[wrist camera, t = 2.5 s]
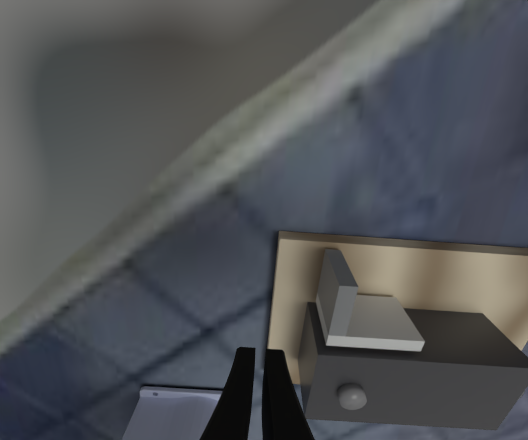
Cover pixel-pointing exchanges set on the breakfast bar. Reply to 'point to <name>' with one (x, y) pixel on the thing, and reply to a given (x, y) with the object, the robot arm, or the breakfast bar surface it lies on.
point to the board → (400, 281)
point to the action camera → (415, 374)
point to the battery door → (360, 312)
